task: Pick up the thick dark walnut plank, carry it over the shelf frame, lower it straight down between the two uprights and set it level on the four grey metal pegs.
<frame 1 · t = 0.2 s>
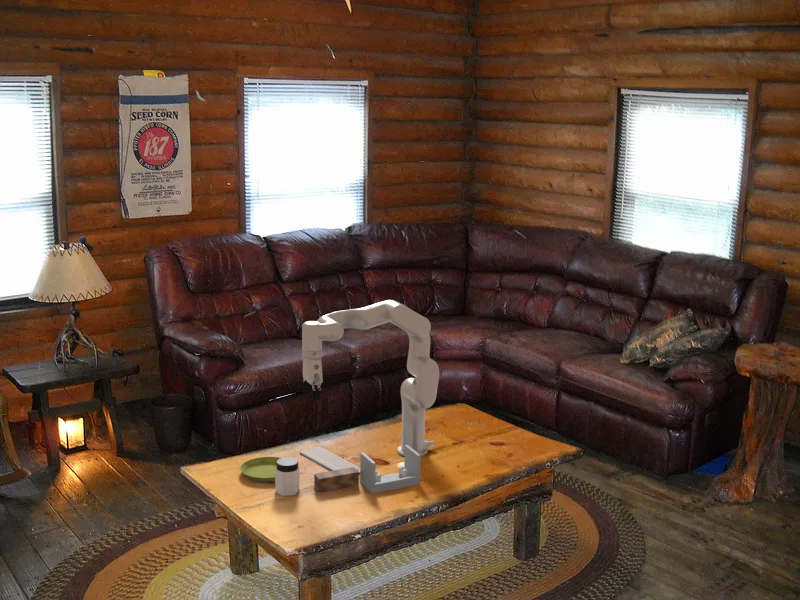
hand: (311, 396, 354), 31 cm above the table, fingers open, 9 cm apart
shelf board: (336, 487, 346), on the table
saucer: (267, 474, 357), on the table
jar: (287, 491, 342), on the table
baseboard: (333, 463, 369), on the table
peg frame: (389, 483, 351), on the table
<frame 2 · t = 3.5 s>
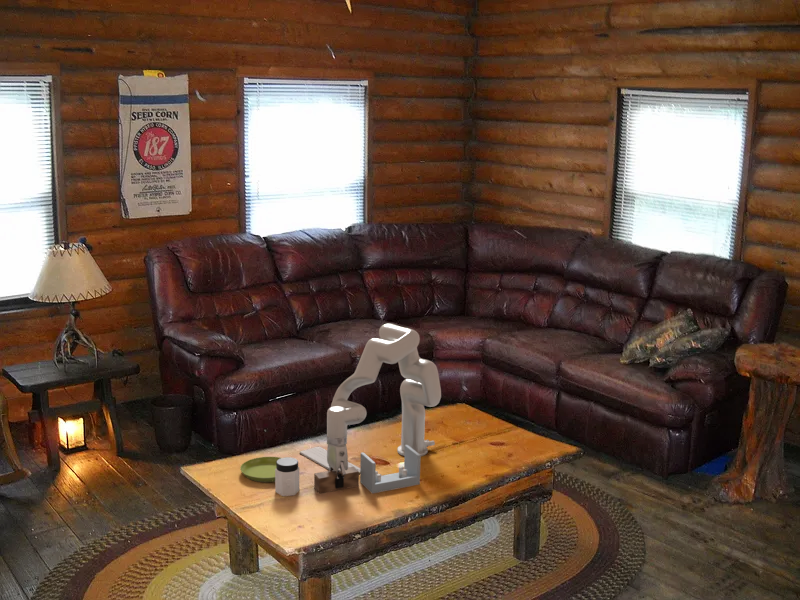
hand: (336, 484, 346), 1 cm above the table, fingers closed on shelf board, 5 cm apart
shelf board: (336, 487, 346), on the table, touching gripper
everything else where it was.
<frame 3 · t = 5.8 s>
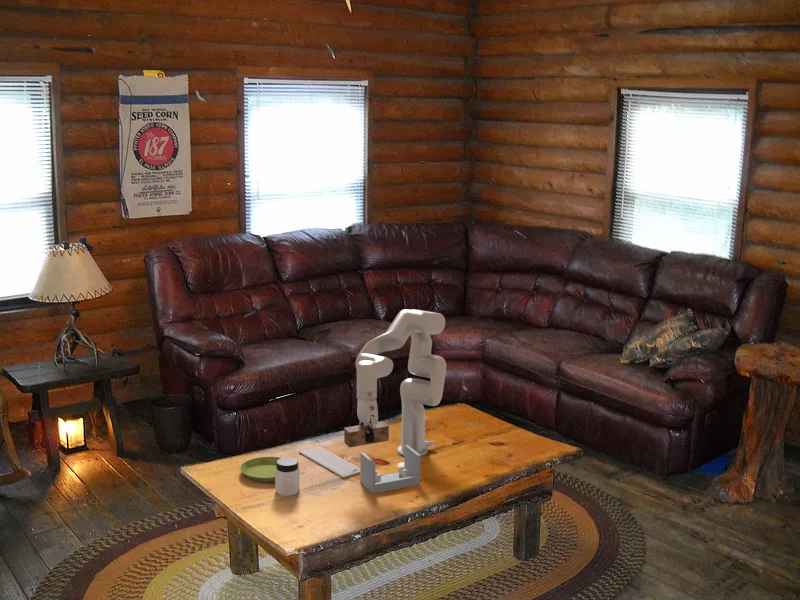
hand: (366, 438, 345), 19 cm above the table, fingers closed on shelf board, 5 cm apart
shelf board: (366, 441, 345), point 17 cm above the table, touching gripper
everything else where it was.
when the fingers open (7 cm above the table, at t = 8.2 s): shelf board stays where it is, resting on peg frame.
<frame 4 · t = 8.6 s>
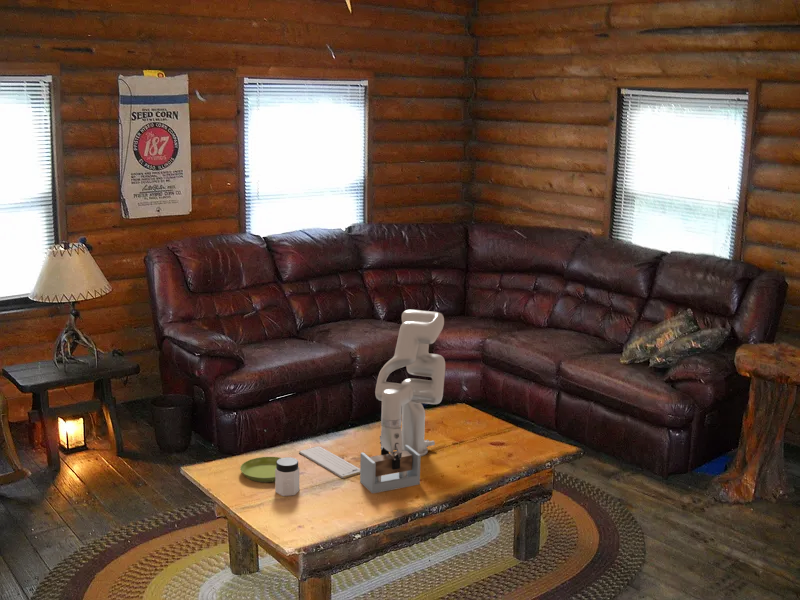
hand: (390, 464, 349), 8 cm above the table, fingers open, 9 cm apart
shelf board: (390, 470, 350), point 5 cm above the table, touching peg frame
everything else where it was.
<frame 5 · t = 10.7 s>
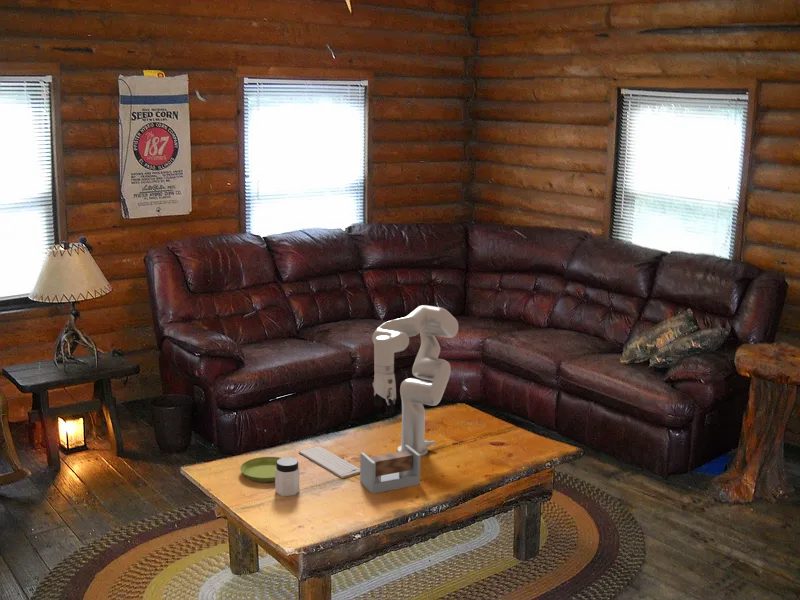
hand: (384, 409, 353), 26 cm above the table, fingers open, 9 cm apart
nothing on the table moved.
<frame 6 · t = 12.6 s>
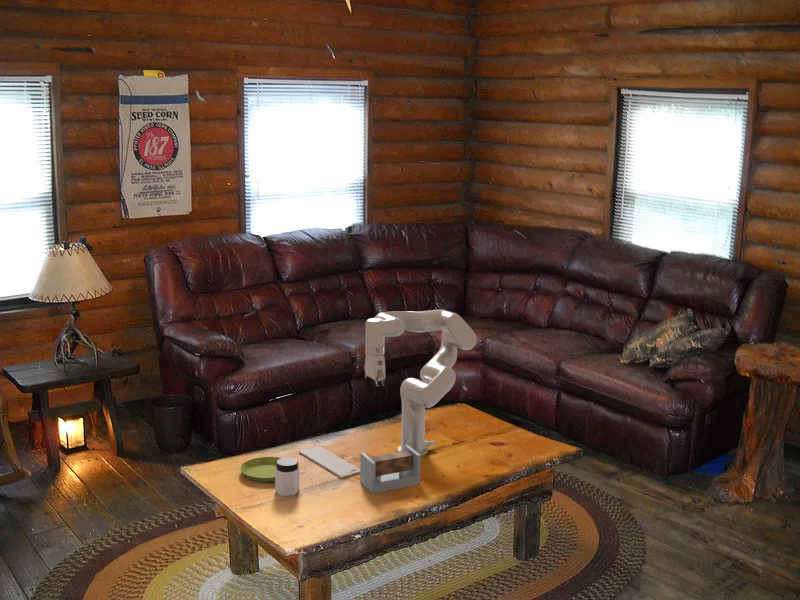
hand: (374, 391, 362), 30 cm above the table, fingers open, 9 cm apart
nothing on the table moved.
at the end: shelf board 0.1 cm off-centre on the peg frame, point 5.0 cm above the peg frame's base; shelf board tilted 0°; the gripper is holding nothing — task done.
